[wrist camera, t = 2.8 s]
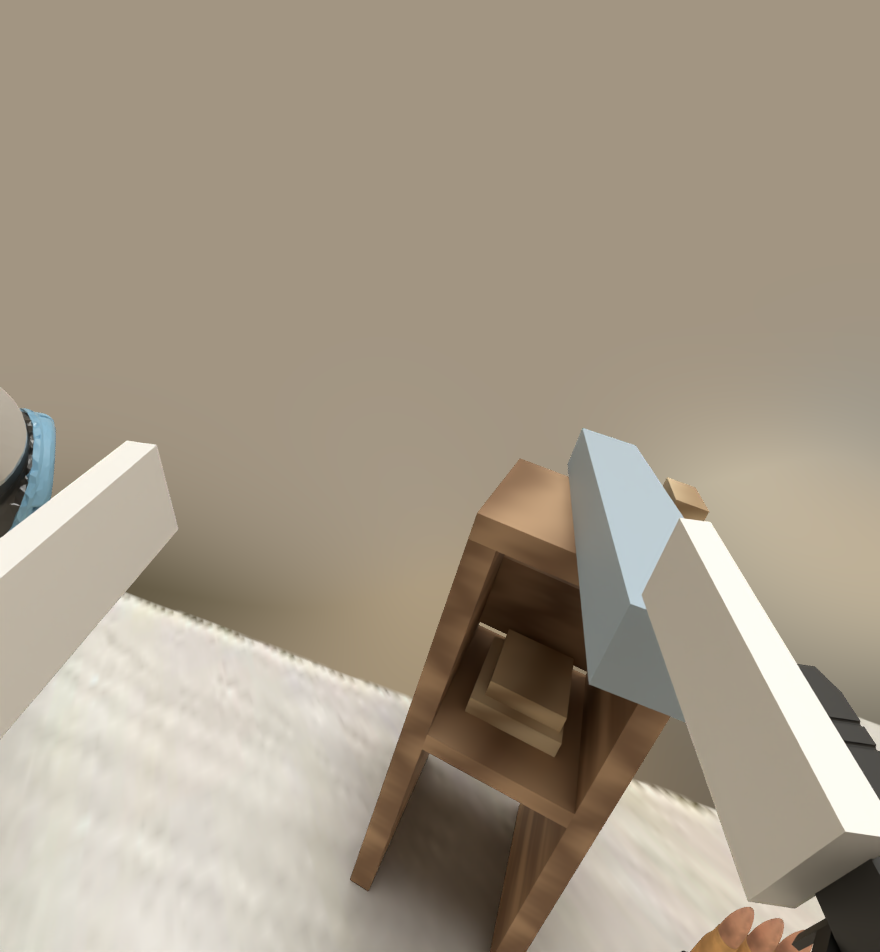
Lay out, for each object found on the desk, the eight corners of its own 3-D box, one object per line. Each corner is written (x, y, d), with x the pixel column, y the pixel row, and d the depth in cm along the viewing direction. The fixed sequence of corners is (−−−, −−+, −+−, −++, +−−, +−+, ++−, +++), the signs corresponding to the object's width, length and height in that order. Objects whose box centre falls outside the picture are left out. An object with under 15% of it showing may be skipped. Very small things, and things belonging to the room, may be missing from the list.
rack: (349, 879, 34) (492, 468, 23) (413, 748, 45) (531, 427, 34) (508, 980, 31) (759, 572, 20) (534, 815, 42) (707, 490, 31)
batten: (588, 684, 14) (630, 603, 13) (567, 464, 37) (582, 427, 36) (723, 737, 14) (777, 658, 13) (618, 481, 36) (635, 445, 35)
